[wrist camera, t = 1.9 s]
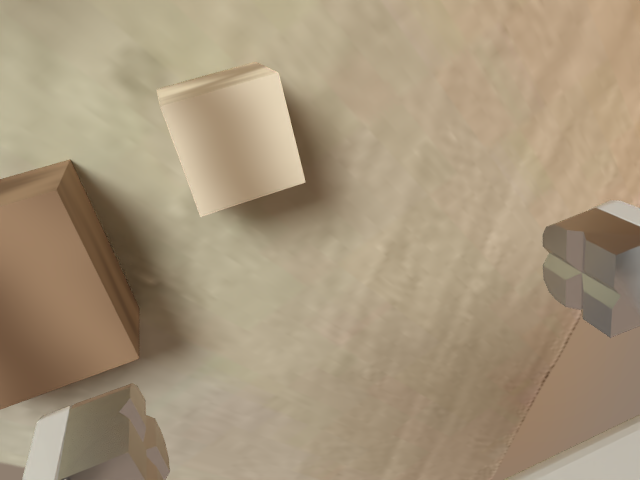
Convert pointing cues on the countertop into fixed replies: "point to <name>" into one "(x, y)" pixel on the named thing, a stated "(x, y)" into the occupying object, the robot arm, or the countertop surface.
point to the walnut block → (58, 287)
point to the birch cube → (232, 136)
